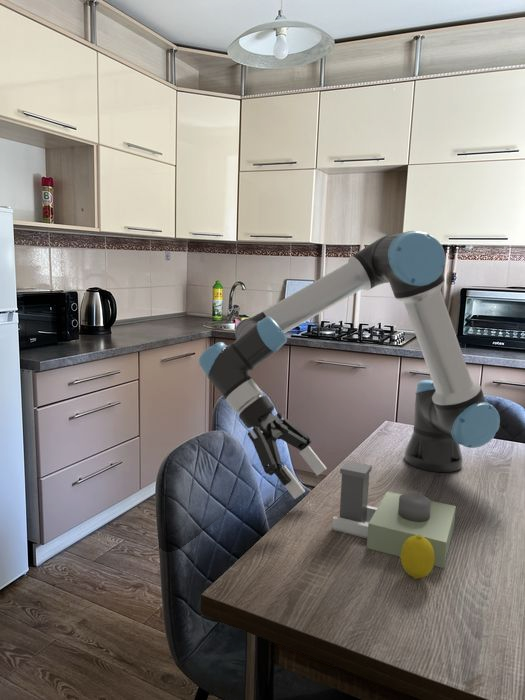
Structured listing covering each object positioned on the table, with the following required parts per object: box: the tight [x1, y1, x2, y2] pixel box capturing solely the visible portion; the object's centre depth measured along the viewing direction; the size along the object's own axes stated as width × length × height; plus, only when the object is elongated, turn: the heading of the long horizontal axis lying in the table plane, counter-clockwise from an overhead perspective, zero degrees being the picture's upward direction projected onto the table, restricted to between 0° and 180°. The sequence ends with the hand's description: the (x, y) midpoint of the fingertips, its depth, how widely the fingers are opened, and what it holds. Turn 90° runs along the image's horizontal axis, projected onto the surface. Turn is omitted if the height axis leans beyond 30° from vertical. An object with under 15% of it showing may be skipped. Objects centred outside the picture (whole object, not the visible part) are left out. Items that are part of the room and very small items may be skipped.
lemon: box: [400, 535, 435, 580], centre depth 89 cm, size 6×6×8 cm
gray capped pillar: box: [339, 460, 373, 523], centre depth 107 cm, size 5×5×12 cm
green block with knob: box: [331, 491, 457, 569], centre depth 104 cm, size 22×16×8 cm
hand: (311, 483), depth 111 cm, fingers open, 13 cm apart
